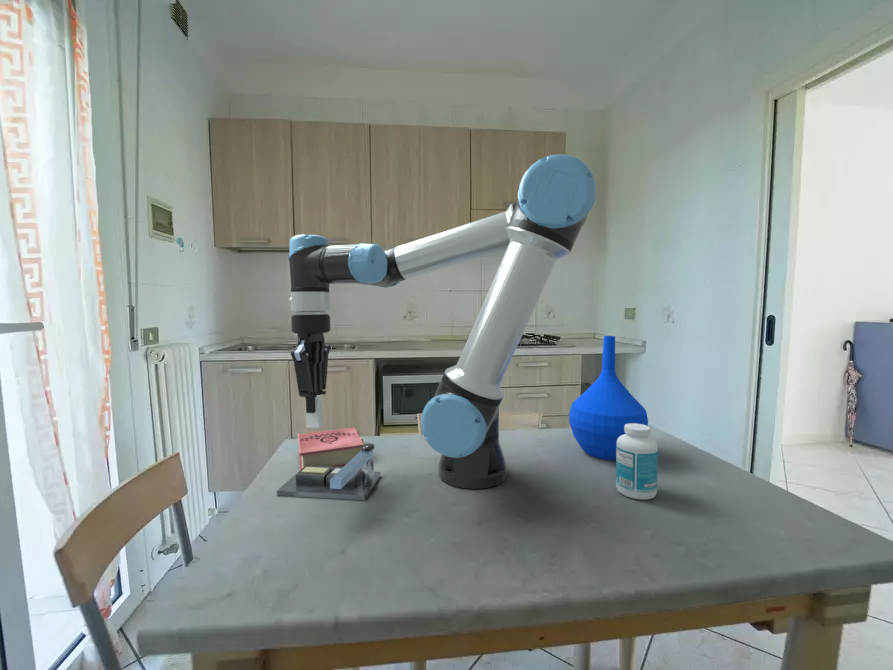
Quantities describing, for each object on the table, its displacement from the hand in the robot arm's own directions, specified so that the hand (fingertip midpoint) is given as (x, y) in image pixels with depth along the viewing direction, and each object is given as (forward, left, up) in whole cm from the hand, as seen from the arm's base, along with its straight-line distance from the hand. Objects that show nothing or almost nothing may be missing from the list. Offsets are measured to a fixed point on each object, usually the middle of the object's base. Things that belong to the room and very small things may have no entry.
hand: (314, 426), depth 82 cm
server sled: (-3, 0, -12) cm, 13 cm away
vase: (-65, -25, -13) cm, 71 cm away
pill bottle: (-65, -4, -13) cm, 67 cm away
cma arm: (-11, +7, -6) cm, 14 cm away
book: (+3, -15, -13) cm, 20 cm away
